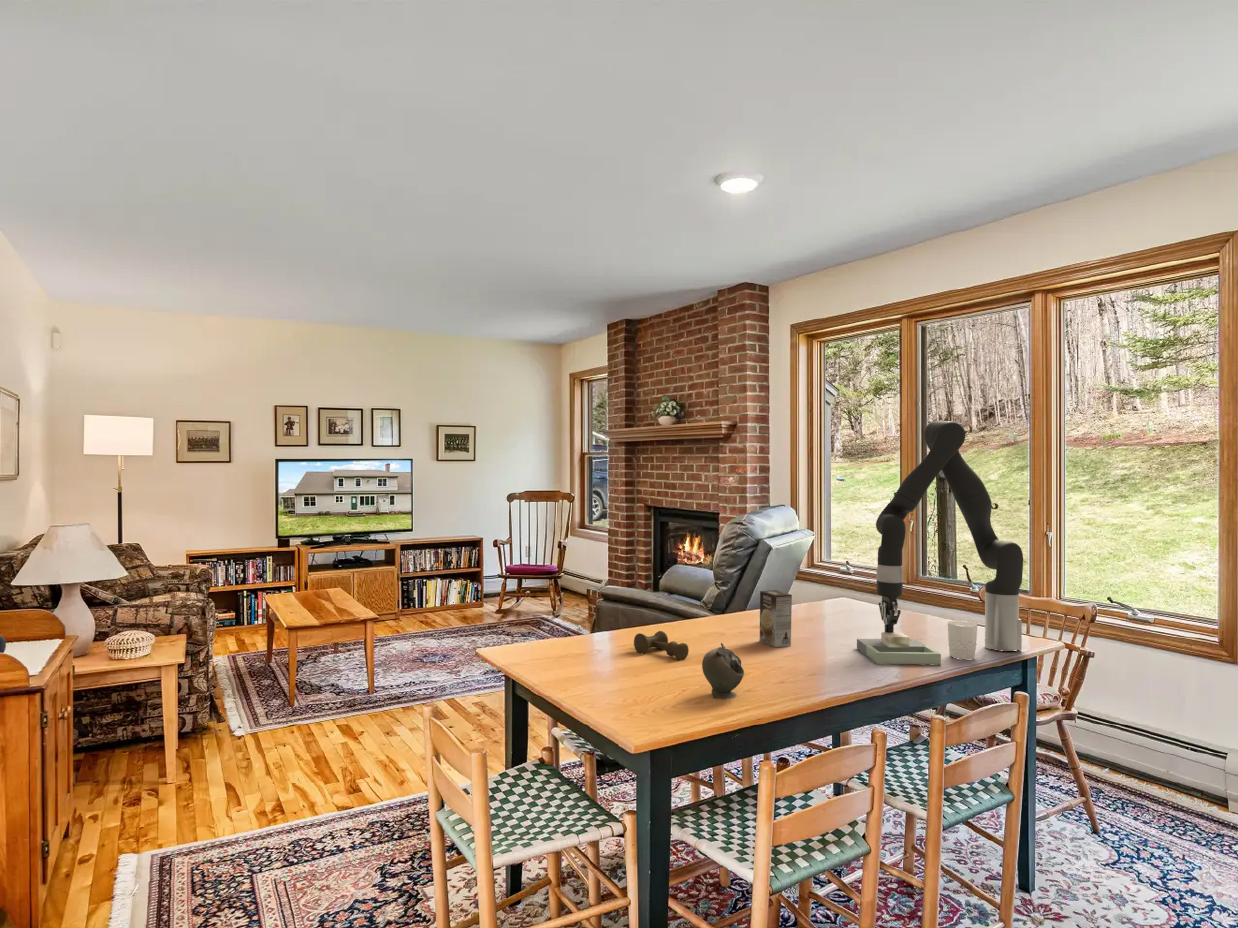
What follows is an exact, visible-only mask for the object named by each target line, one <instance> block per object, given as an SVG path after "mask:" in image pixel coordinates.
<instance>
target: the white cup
mask: <svg viewBox="0 0 1238 928" xmlns="http://www.w3.org/2000/svg"><path fill="white" fill-rule="evenodd" d="M947 635H948V636H947V638H948V647H949V648H948V649H949V650H948V651H949V652H948V653H949V657H950V656H952V657H955V658H959V659H958V660H960V659H973V660H975V659H974V658H976V657H975V656H976V649H977V640H978V639H977V638H978V637H977V636H978V624H977V623H975V622H971V621H966V620H965V621H964V620H949V621H948V622H947ZM952 657H951V658H952ZM955 658H954V659H955Z"/></svg>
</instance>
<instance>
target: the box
mask: <svg viewBox="0 0 1238 928" xmlns="http://www.w3.org/2000/svg"><path fill="white" fill-rule="evenodd" d="M865 657H867V658H868V659H869V658H870V659H869V660H870V661H871V662H873V663H874V664H876V665H891V664H941V665H942V662H941V660H942V654H941V653H940V652H939V651H937V650H935V649H933V648H932V647H931V646H929V645H926V646H924V653H921V652H879V651H878V650H876V649H875V648H874V647H872V646H871V645H866V655H865Z"/></svg>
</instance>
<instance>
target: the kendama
mask: <svg viewBox="0 0 1238 928" xmlns="http://www.w3.org/2000/svg"><path fill="white" fill-rule="evenodd" d="M633 647H634V649H635V652H637V653H638V652H639V653H638V654H641V653H644V654H646V653H647V652H648V650H649V649H652V648H656V649H658V650H663V651H665V652H666V654H667V656H669V657H675V659H676V660H677V661H684V660H686V659H687V657H688V655H689V645H688V644H687V643H685V642H681V643H678V642H677V641H674V640H673V641H670V642H669V638H668V636H667V633H666V632H665V631H662V630H658V631H657V632H655V634H653V635H651V636H648V635H645V634H643V633H637V634H636V635H635V636H634V639H633ZM683 659H684V660H683Z"/></svg>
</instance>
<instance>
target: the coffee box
mask: <svg viewBox="0 0 1238 928" xmlns="http://www.w3.org/2000/svg"><path fill="white" fill-rule="evenodd" d="M759 593H760V594H759V641H760V642H762V643H764V644H765V645H766V644H767V645H768V646H771V647H773V648H783V647H791V646H792V607H793V606H792V605H793V604H792V602H793V601H792V600H793V599H792V597H793V596H792V594H790V593H786V592H784V591H780V590H778V589H772V590H770V589H769V590H761V591H759Z"/></svg>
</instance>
